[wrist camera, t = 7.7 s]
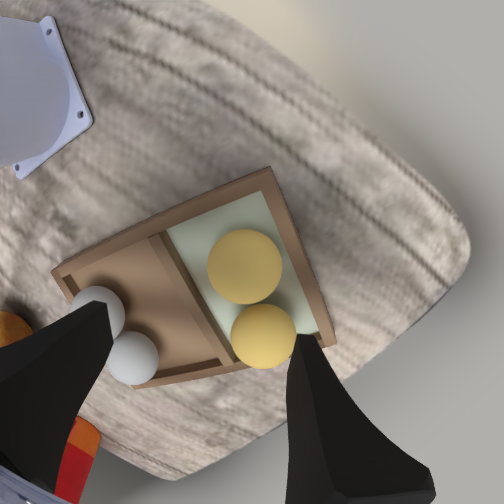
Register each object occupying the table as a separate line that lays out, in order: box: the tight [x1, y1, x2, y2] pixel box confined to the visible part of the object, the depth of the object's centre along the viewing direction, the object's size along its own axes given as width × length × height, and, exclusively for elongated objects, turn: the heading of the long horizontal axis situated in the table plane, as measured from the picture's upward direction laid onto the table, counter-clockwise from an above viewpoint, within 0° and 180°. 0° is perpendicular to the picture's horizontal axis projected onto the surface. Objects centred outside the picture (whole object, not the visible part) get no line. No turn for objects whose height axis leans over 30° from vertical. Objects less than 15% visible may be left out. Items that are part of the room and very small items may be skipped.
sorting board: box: [51, 166, 337, 389], centre depth 21 cm, size 12×17×2 cm
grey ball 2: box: [106, 331, 159, 385], centre depth 21 cm, size 4×4×4 cm
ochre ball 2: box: [230, 304, 297, 369], centre depth 19 cm, size 4×4×4 cm
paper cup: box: [26, 416, 101, 504], centre depth 26 cm, size 8×8×14 cm
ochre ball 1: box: [207, 229, 282, 304], centre depth 17 cm, size 4×4×4 cm
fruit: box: [0, 311, 34, 347], centre depth 22 cm, size 8×8×8 cm
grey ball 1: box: [70, 286, 125, 339], centre depth 20 cm, size 4×4×4 cm
